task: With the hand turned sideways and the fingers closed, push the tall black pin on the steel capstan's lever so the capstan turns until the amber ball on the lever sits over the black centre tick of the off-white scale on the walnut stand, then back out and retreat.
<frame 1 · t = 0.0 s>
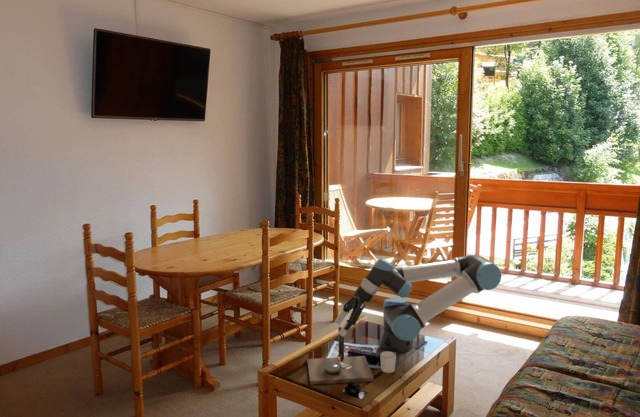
hand: (338, 329, 214), 15 cm above the table, tool tilted 35°, fingers open, 13 cm apart
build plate: (353, 394, 190), on the table
shot glass: (387, 370, 209), on the table
level stand: (339, 371, 208), on the table
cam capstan: (336, 349, 208), point 9 cm above the table, hinge at 40.0°
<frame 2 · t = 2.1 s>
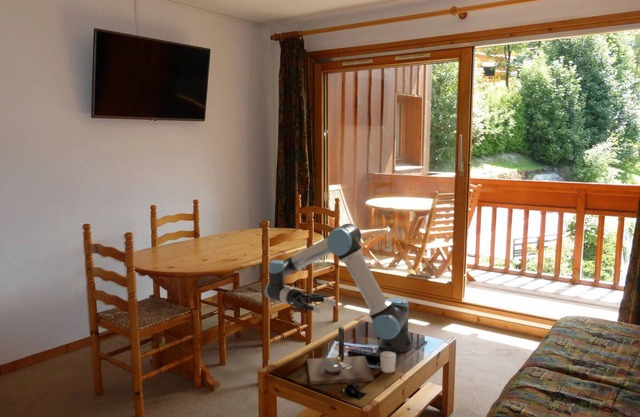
hand: (327, 306, 218), 24 cm above the table, tool horizontal, fingers open, 10 cm apart
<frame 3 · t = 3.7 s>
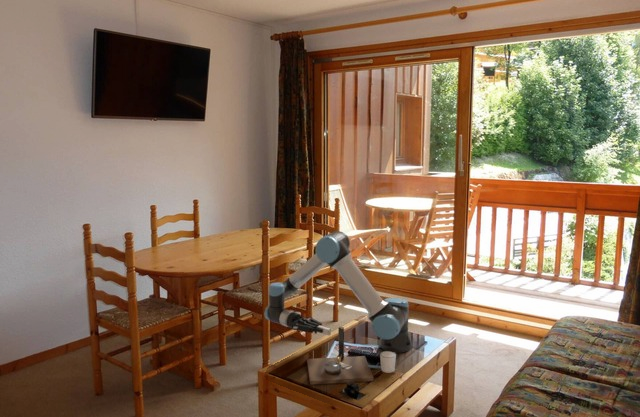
hand: (329, 332, 219), 12 cm above the table, tool horizontal, fingers closed
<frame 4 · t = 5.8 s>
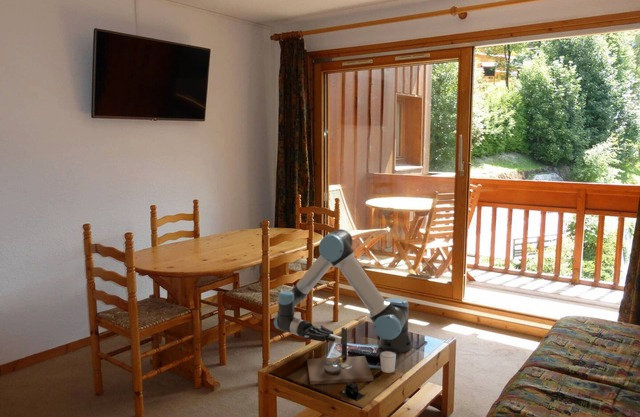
hand: (341, 340, 215), 10 cm above the table, tool horizontal, fingers closed
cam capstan: (337, 350, 208), point 9 cm above the table, hinge at 33.2°, touching gripper
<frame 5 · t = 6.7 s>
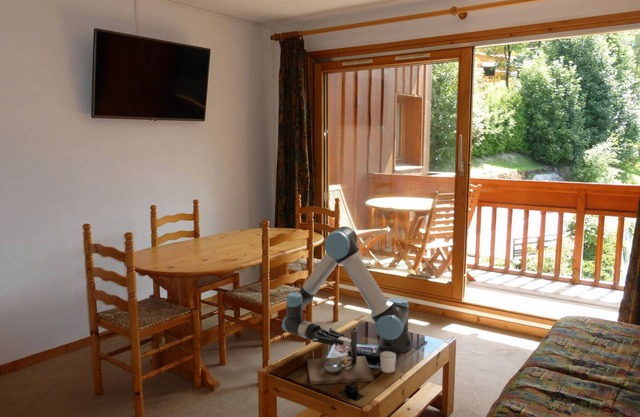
hand: (351, 344, 212), 10 cm above the table, tool horizontal, fingers closed, pressing on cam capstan
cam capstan: (341, 351, 206), point 9 cm above the table, hinge at 8.4°, touching gripper
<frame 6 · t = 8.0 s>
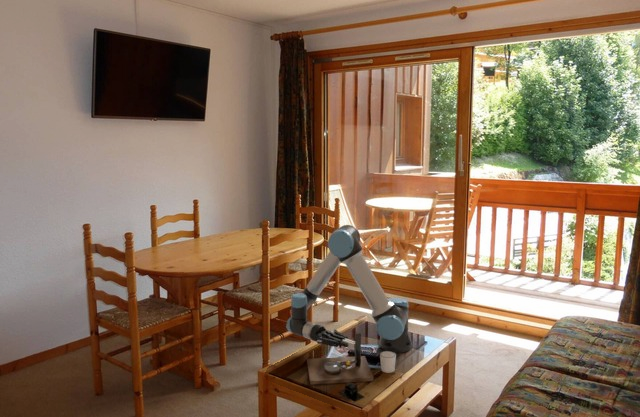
hand: (355, 346, 209), 10 cm above the table, tool horizontal, fingers closed
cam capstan: (343, 352, 205), point 9 cm above the table, hinge at -6.1°, touching gripper
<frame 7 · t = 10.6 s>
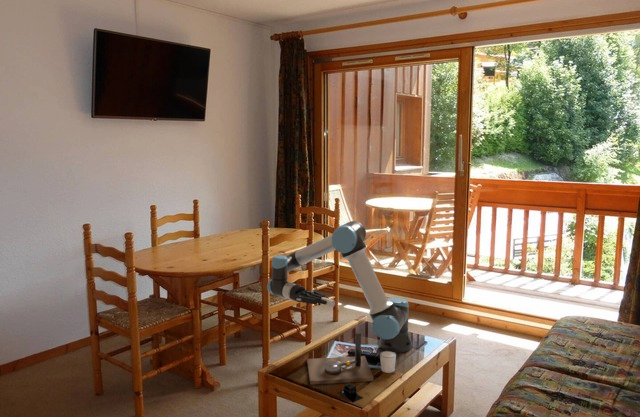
hand: (333, 303, 216), 26 cm above the table, tool horizontal, fingers closed
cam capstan: (343, 352, 205), point 9 cm above the table, hinge at -6.4°
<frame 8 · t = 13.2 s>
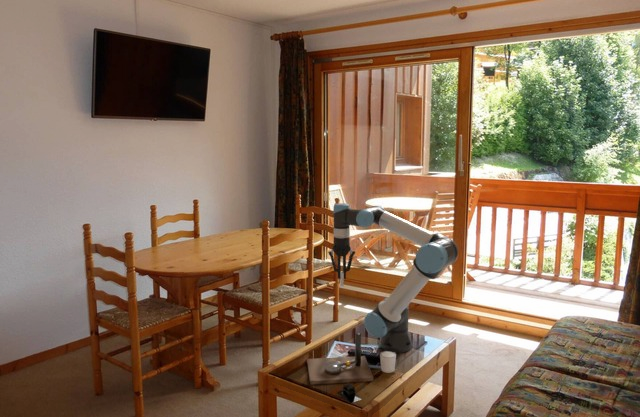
hand: (341, 285, 231), 29 cm above the table, tool pointing down, fingers closed
at the end: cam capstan at -6° (first picture: +40°) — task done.
